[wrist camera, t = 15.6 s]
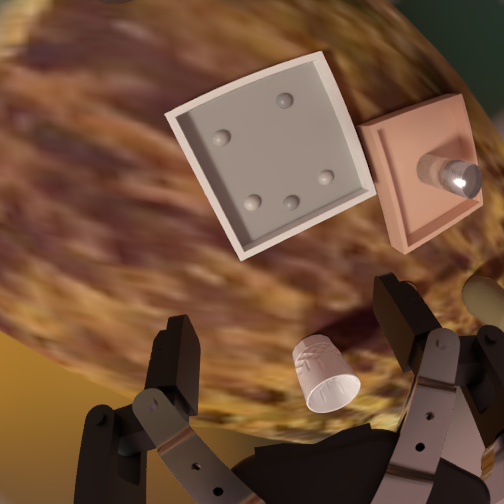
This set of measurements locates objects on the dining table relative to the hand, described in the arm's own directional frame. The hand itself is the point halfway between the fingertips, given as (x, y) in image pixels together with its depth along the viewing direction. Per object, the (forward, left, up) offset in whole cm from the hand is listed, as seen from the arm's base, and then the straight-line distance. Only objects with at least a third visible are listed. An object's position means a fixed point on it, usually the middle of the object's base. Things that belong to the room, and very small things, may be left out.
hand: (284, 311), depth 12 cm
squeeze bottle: (+36, +35, -25) cm, 56 cm away
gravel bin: (-2, +7, -25) cm, 26 cm away
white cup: (+28, +1, -25) cm, 37 cm away
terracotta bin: (+8, +27, -25) cm, 37 cm away
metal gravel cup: (+8, +27, -24) cm, 36 cm away
